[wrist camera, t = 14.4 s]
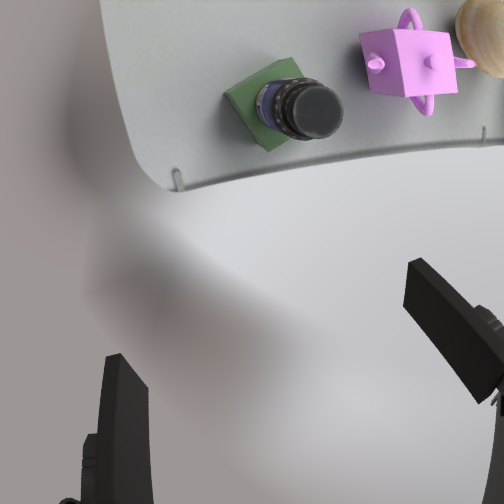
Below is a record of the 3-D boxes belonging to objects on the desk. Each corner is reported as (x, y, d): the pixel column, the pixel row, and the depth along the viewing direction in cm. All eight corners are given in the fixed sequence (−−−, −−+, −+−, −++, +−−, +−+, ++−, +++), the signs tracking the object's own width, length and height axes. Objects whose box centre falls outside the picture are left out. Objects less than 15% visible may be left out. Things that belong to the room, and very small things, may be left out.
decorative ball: (494, 62, 37) (553, 75, 25) (455, 82, 39) (522, 97, 26) (470, -6, 29) (530, -6, 17) (425, 4, 31) (494, -2, 18)
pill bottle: (272, 139, 35) (307, 161, 25) (243, 97, 32) (268, 101, 22) (314, 111, 34) (362, 124, 24) (287, 69, 31) (329, 65, 21)
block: (258, 144, 40) (268, 152, 35) (223, 92, 35) (228, 92, 31) (310, 112, 39) (326, 116, 34) (279, 59, 34) (292, 56, 30)
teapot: (381, 0, 31) (429, -10, 22) (434, 60, 37) (483, 65, 27) (329, 65, 36) (372, 64, 26) (390, 124, 41) (437, 139, 32)
